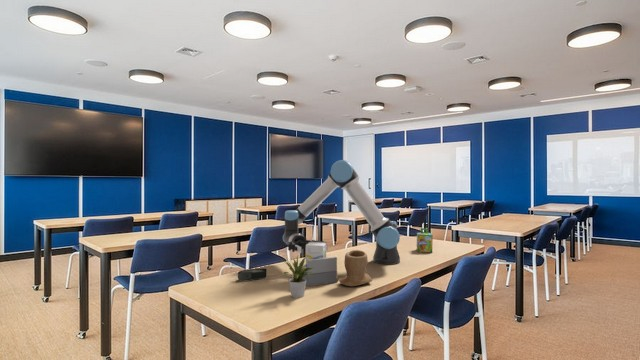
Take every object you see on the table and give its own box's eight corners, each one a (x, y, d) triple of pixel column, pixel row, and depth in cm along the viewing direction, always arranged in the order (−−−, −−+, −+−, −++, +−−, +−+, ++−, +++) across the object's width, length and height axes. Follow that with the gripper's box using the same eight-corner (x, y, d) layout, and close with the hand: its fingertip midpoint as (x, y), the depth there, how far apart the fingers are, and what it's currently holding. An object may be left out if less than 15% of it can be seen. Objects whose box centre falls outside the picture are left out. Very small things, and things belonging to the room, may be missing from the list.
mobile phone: (265, 267, 167) (234, 270, 160) (267, 268, 164) (236, 271, 157) (265, 277, 167) (234, 281, 160) (267, 279, 164) (236, 282, 157)
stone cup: (351, 290, 145) (351, 255, 145) (335, 283, 155) (335, 250, 155) (379, 285, 153) (379, 251, 153) (362, 278, 163) (362, 246, 163)
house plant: (283, 304, 129) (283, 261, 129) (273, 293, 142) (273, 253, 142) (318, 299, 135) (318, 257, 135) (305, 289, 148) (305, 250, 148)
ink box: (323, 271, 157) (323, 245, 157) (305, 270, 159) (305, 244, 159) (326, 266, 165) (326, 242, 165) (309, 265, 167) (309, 241, 167)
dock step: (322, 273, 172) (322, 251, 172) (337, 282, 157) (337, 257, 157) (296, 276, 166) (295, 253, 166) (308, 286, 152) (308, 260, 152)
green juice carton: (417, 252, 221) (417, 229, 221) (416, 249, 231) (416, 227, 231) (432, 252, 220) (432, 229, 220) (430, 249, 229) (430, 227, 229)
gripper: (319, 246, 188) (337, 254, 168) (275, 250, 177) (289, 259, 158) (319, 233, 188) (337, 238, 168) (275, 236, 177) (289, 243, 158)
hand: (314, 248), depth 163 cm, fingers open, 13 cm apart
